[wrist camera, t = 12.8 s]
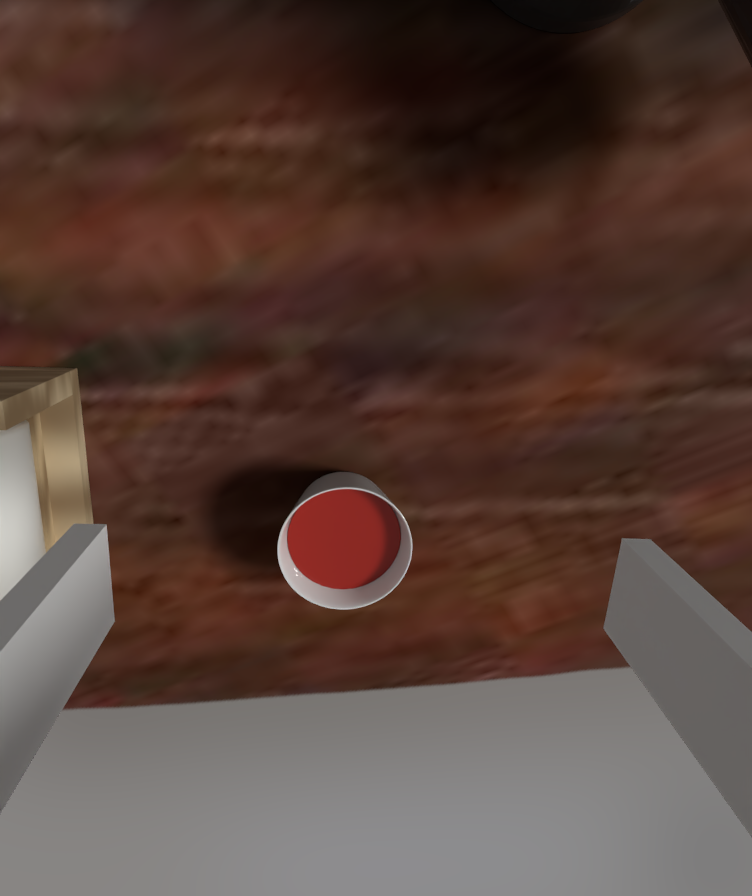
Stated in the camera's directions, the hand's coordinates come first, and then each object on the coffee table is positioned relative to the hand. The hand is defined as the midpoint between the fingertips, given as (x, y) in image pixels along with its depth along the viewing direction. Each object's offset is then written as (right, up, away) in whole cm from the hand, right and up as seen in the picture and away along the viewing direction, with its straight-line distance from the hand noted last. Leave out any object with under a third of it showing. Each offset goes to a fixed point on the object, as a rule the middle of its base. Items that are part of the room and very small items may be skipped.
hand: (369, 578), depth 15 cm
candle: (-2, -2, +31) cm, 31 cm away
